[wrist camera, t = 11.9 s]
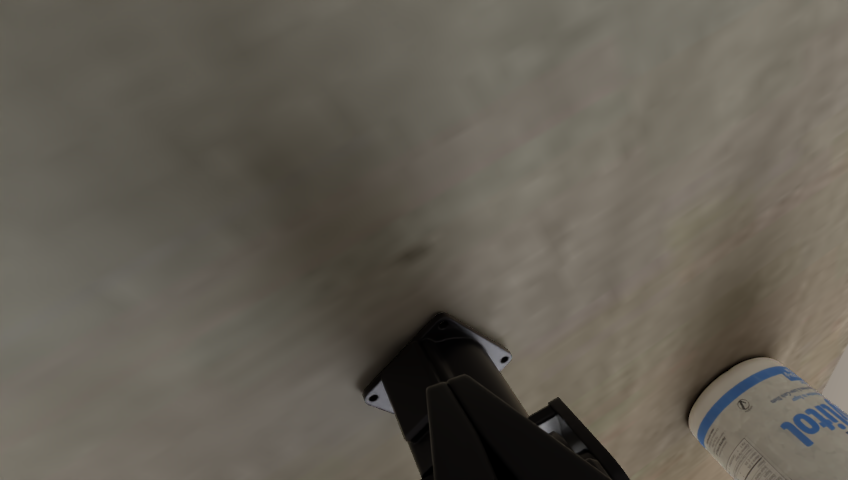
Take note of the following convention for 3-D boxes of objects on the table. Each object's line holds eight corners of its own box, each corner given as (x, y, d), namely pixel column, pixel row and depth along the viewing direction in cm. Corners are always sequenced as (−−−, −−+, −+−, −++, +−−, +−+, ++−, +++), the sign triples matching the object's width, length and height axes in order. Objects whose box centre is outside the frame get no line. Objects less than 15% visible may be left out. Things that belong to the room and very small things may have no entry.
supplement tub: (784, 336, 41) (1010, 496, 30) (758, 404, 47) (940, 561, 35) (690, 381, 39) (892, 571, 28) (674, 446, 45) (838, 628, 33)
